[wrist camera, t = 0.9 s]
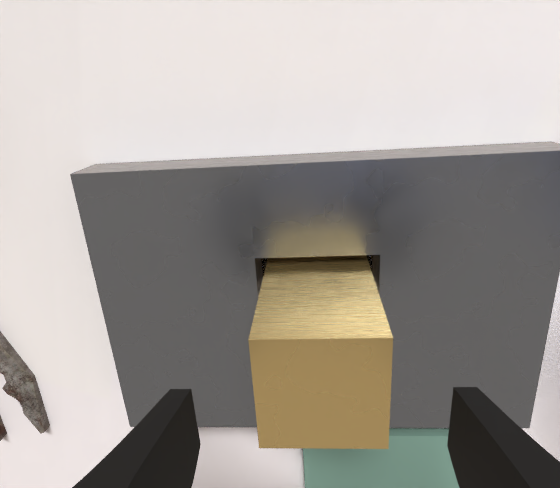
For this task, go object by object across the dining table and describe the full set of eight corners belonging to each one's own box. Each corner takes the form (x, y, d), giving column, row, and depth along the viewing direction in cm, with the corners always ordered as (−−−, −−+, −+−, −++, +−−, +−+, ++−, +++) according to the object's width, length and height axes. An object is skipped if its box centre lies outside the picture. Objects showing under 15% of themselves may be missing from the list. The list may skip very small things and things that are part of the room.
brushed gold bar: (363, 245, 18) (393, 337, 12) (362, 326, 19) (388, 449, 13) (270, 248, 18) (248, 339, 12) (275, 327, 20) (259, 448, 13)
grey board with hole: (551, 141, 16) (582, 149, 14) (509, 396, 20) (529, 428, 18) (95, 164, 18) (70, 174, 16) (145, 397, 22) (130, 426, 20)
